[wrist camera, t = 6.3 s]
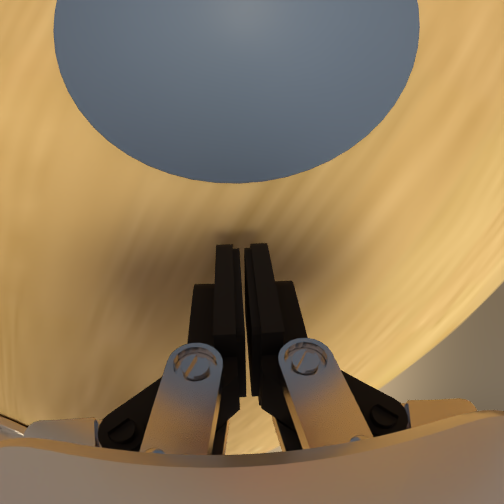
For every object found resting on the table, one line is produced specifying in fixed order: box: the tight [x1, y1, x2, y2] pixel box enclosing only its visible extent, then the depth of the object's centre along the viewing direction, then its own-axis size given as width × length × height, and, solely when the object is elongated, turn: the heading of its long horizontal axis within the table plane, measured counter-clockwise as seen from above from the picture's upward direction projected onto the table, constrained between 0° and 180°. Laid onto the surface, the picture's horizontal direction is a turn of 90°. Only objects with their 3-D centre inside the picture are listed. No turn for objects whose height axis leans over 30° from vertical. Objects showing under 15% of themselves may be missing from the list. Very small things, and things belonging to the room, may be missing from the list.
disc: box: [54, 0, 420, 183], centre depth 7 cm, size 12×12×1 cm
